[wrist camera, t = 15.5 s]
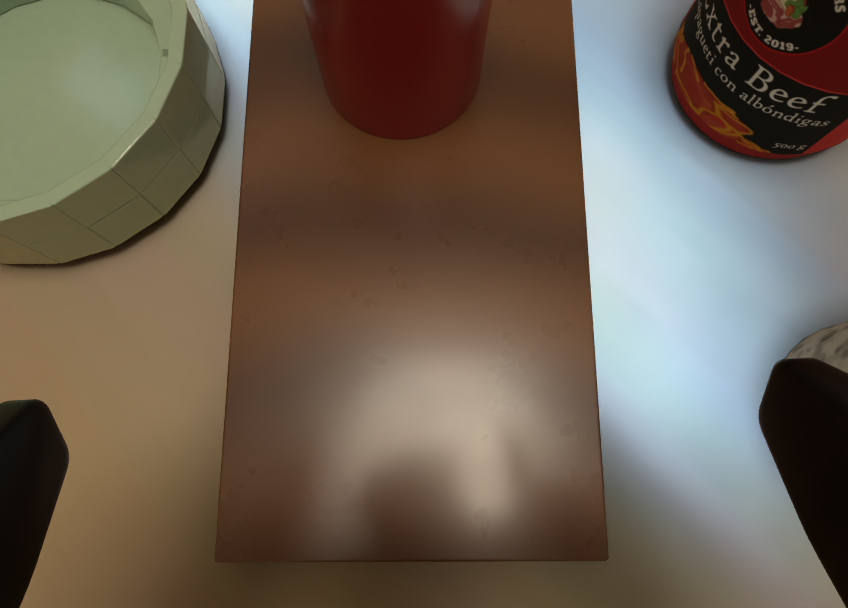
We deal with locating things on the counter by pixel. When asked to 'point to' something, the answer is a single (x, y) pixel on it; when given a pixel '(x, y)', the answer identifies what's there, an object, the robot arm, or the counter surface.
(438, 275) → the cutting board
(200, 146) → the bowl
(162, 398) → the counter surface
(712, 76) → the canned food
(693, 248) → the counter surface
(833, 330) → the mug
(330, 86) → the drink can
